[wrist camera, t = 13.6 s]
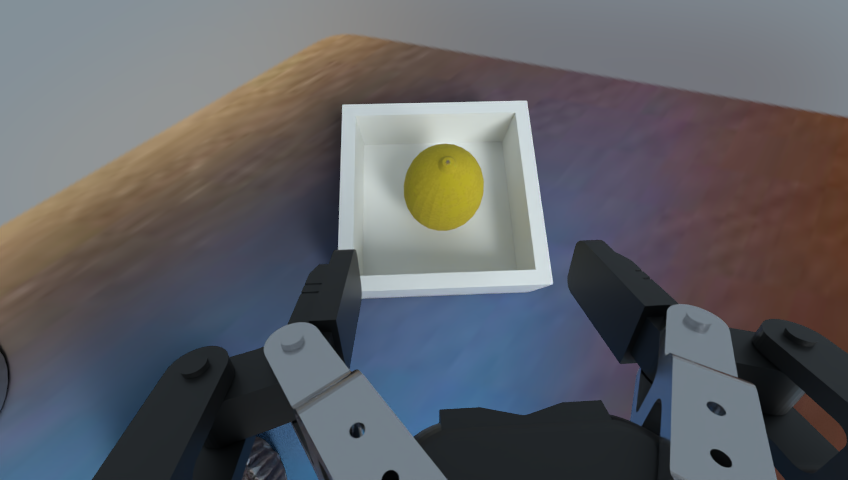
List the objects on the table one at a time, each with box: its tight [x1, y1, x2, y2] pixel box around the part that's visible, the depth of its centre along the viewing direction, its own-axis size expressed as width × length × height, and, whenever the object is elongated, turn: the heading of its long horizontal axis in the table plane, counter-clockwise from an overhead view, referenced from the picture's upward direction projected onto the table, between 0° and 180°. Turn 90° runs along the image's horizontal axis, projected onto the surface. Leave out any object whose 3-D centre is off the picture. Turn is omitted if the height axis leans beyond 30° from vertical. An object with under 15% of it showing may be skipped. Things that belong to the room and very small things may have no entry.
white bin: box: [338, 101, 553, 299], centre depth 25 cm, size 14×14×5 cm
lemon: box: [404, 144, 484, 231], centre depth 23 cm, size 6×6×8 cm
